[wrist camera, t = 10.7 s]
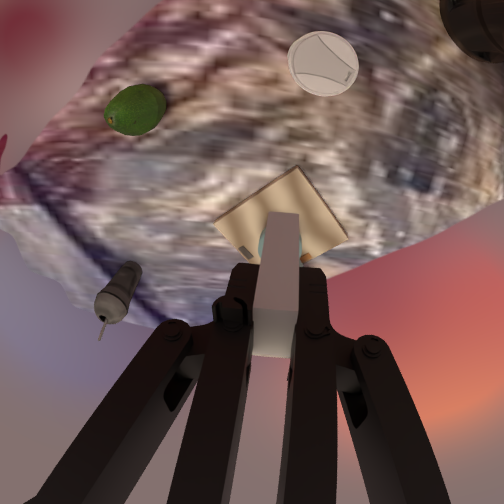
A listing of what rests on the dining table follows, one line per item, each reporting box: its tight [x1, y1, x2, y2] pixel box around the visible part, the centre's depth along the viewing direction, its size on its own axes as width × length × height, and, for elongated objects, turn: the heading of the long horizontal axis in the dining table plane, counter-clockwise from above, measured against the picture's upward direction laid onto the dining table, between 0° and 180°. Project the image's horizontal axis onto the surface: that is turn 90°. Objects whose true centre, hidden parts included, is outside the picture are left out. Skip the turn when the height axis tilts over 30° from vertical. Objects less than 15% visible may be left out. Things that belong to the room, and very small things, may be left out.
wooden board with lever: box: [213, 165, 348, 264], centre depth 54 cm, size 18×16×4 cm
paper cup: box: [287, 31, 359, 96], centre depth 32 cm, size 8×8×14 cm
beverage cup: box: [94, 261, 142, 341], centre depth 58 cm, size 7×7×20 cm
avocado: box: [104, 84, 166, 136], centre depth 39 cm, size 8×8×12 cm
